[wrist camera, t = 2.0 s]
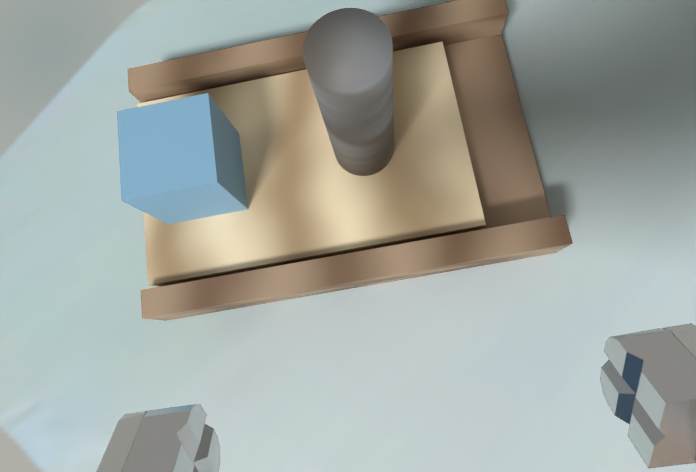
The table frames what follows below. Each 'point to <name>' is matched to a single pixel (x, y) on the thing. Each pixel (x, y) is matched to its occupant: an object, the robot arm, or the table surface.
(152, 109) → the cube
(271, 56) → the track
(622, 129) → the table surface
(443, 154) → the wooden board with post
